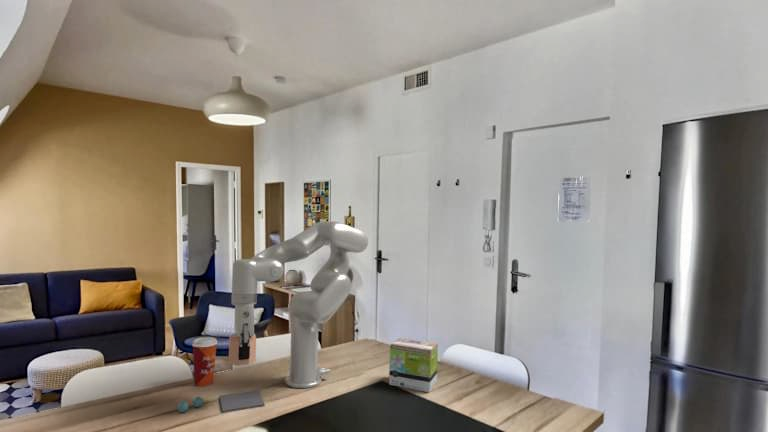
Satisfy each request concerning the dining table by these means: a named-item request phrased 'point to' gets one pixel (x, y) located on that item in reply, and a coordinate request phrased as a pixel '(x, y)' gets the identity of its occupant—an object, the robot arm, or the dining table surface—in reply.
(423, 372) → the tea box
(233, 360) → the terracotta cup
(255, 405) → the charcoal mat
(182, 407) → the marble
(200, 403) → the marble
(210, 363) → the coffee cup
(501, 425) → the dining table surface
